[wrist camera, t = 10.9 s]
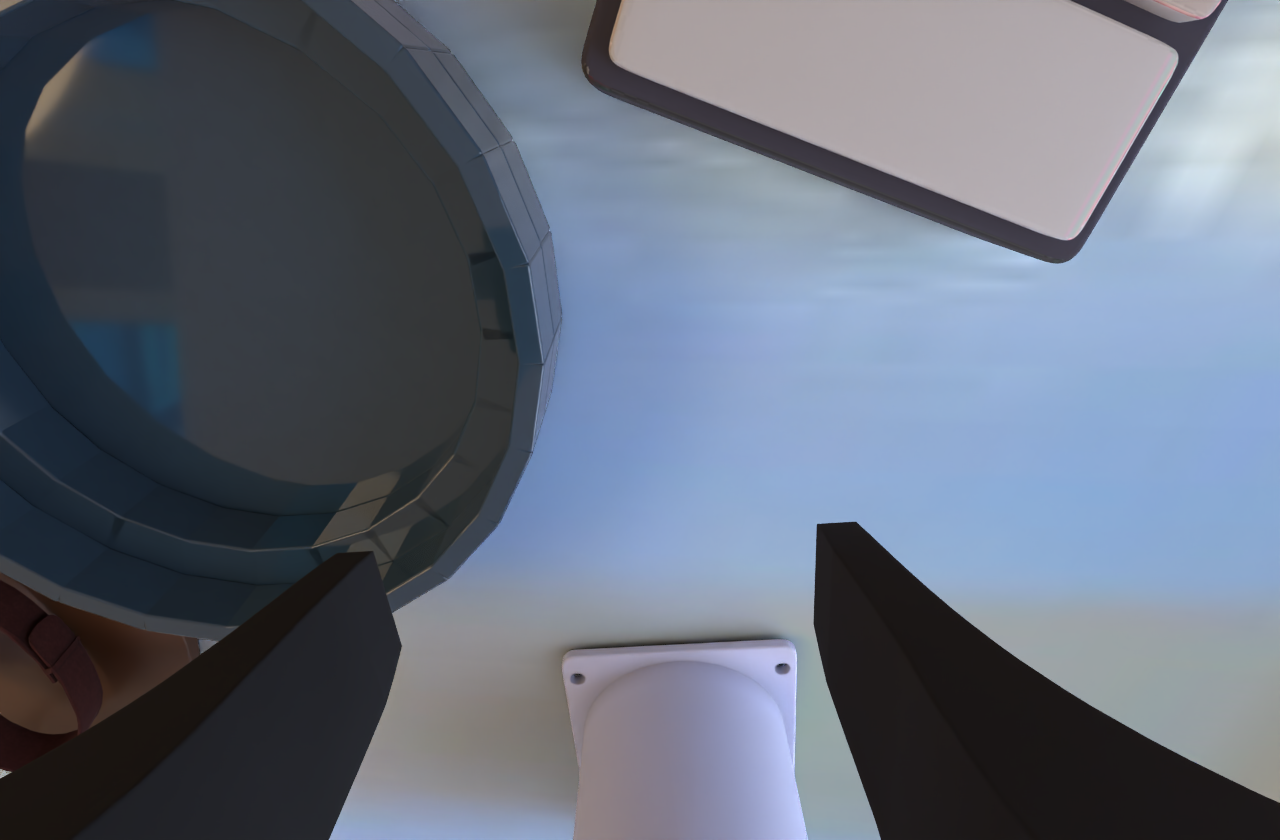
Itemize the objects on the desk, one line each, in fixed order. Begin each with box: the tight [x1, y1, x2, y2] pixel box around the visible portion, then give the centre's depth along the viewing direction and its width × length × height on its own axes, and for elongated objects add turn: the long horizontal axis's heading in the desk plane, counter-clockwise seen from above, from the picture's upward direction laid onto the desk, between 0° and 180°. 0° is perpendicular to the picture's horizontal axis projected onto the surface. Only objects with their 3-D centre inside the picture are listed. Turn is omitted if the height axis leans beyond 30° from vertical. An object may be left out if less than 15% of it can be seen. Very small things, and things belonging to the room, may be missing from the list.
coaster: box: [0, 573, 200, 734], centre depth 24 cm, size 11×11×1 cm
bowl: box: [0, 0, 562, 641], centre depth 17 cm, size 17×17×4 cm
